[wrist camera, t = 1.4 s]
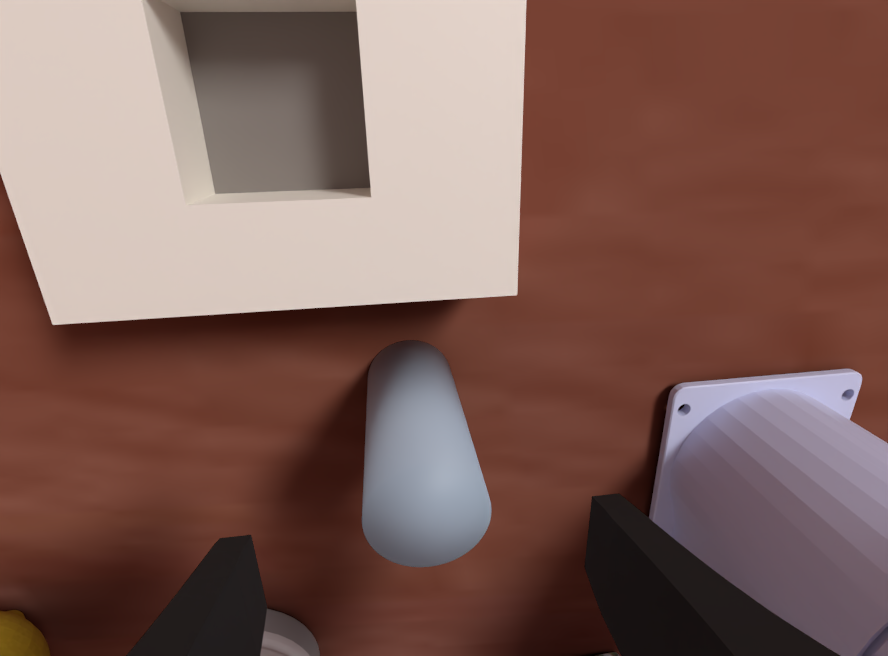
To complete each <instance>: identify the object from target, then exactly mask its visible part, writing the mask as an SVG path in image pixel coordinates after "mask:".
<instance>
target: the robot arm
mask: <svg viewBox="0 0 888 656" xmlns="http://www.w3.org/2000/svg"><path fill="white" fill-rule="evenodd" d="M861 383H862V376H861V374H859V373H858V372H856V371H854V370H852V369H838V370H826V371H815V372H803V373H792V374H780V375H768V376H757V377H745V378H734V379H722V380H710V381H699V382H687V383H681V384H678V385H676V386H675V387H673V389H672V390H671V391H670V394H669V398H668V404H667V410H666V416H665V422H664V428H663V435H662V441H661V447H660V453H659V459H658V465H657V471H656V477H655V483H654V489H653V495H652V501H651V508H650V514H649V518H648V517H647V516H646V515H645V514H643V513H642V512H641V511H640V510H639V509H637V508H636V507H635V506H634V505H632V504H631V503H630V502H629V501H628V500H626V499H625V498H624V497H623V496H621V495H620V494H610V495H602V496H593V497H592V502H591V512H590V521H589V530H588V539H587V549H586V558H585V570H586V573H587V575H588V578H589V581H590V584H591V587H592V590H593V593H594V595H595V598H596V601H597V603H598V606H599V609H600V611H601V614H602V616H603V618H604V621H605V623H606V625H607V627H608V629H609V631H610V633H611V635H612V637H613V639H614V641H615V643H616V645H617V647H618V649H619V651H620V654H621V656H888V443H886V442H885V441H883V440H881V439H880V438H878V437H876V436H875V435H873V434H872V433H870V432H868V431H867V430H865V429H863V428H862V427H860V426H859V425H857V424H855V423H854V422H852V421H850V417H851V414H852V411H853V408H854V405H855V402H856V399H857V395H858V392H859V389H860V386H861ZM843 392H844V393H843ZM683 404H685V405H684V407H683V408H682V409H681V410H678V409H679V407H680V406H681V405H683ZM266 613H267V604H266V600H265V595H264V591H263V586H262V582H261V577H260V573H259V568H258V564H257V559H256V555H255V550H254V546H253V541H252V537H251V535H246V536H237V537H228V538H220V539H219V540H218V541H217V542H216V543H215V544H214V546H213V547H212V548H211V549H210V551H209V552H208V553H207V555H206V556H205V557H204V559H203V560H202V561H201V563H200V564H199V565H198V567H197V568H196V569H195V571H194V572H193V573H192V574H191V576H190V577H189V578H188V580H187V581H186V582H185V584H184V585H183V586H182V587H181V589H180V590H179V591H178V593H177V594H176V595H175V596H174V598H173V599H172V600H171V602H170V603H169V604H168V605H167V607H166V608H165V609H164V610H163V612H162V613H161V614H160V615H159V616H158V618H157V619H156V620H155V621H154V623H153V624H152V625H151V626H150V628H149V629H148V630H147V631H146V633H145V634H144V635H143V636H142V637H141V639H140V640H139V641H138V642H137V644H136V645H135V646H134V647H133V648H132V649H131V651H130V652H129V653H128V654H127V655H126V656H260V654H261V647H262V641H263V634H264V627H265V620H266Z"/></svg>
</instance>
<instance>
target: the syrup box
mask: <svg viewBox="0 0 888 656" xmlns="http://www.w3.org/2000/svg"><path fill="white" fill-rule="evenodd" d="M596 656H619V655H618V654H617V653H616V652H612V653H606V654H601V655H596Z"/></svg>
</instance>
